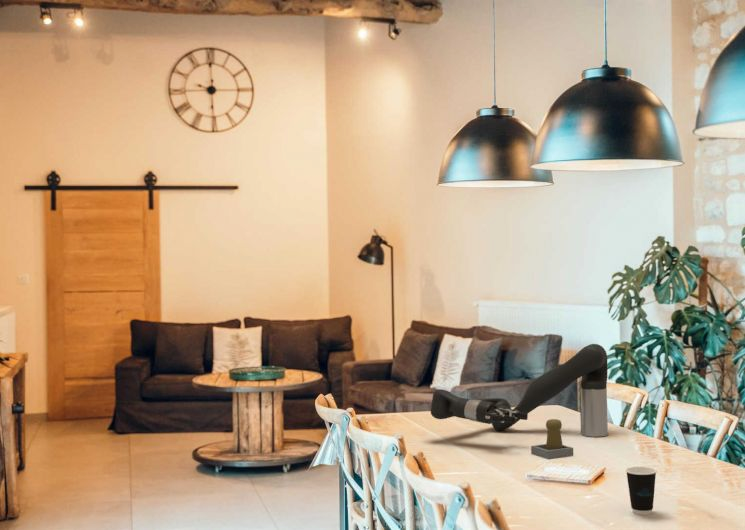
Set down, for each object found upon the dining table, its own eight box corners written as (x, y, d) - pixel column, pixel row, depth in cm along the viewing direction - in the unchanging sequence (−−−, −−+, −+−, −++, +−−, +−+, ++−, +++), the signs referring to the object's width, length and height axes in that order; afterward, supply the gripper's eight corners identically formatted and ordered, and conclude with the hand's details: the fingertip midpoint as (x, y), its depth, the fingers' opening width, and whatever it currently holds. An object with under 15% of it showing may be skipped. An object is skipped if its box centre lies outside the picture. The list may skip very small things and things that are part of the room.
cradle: (531, 453, 323) (531, 445, 323) (556, 450, 327) (556, 442, 327) (547, 459, 314) (547, 451, 314) (573, 455, 318) (573, 447, 318)
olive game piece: (542, 452, 320) (541, 420, 320) (551, 449, 324) (550, 417, 324) (558, 454, 316) (557, 421, 316) (567, 451, 321) (566, 419, 320)
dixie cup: (644, 518, 243) (643, 475, 243) (620, 511, 250) (618, 469, 249) (664, 512, 248) (663, 470, 248) (640, 506, 254) (638, 465, 254)
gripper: (490, 419, 342) (530, 426, 333) (469, 424, 331) (510, 432, 321) (491, 398, 342) (531, 405, 332) (470, 403, 331) (511, 410, 321)
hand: (521, 418), depth 327 cm, fingers open, 8 cm apart
